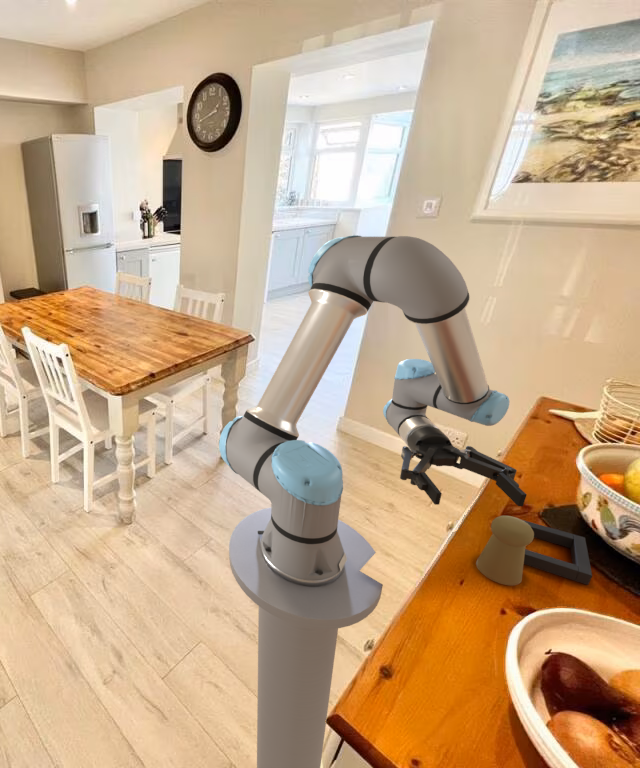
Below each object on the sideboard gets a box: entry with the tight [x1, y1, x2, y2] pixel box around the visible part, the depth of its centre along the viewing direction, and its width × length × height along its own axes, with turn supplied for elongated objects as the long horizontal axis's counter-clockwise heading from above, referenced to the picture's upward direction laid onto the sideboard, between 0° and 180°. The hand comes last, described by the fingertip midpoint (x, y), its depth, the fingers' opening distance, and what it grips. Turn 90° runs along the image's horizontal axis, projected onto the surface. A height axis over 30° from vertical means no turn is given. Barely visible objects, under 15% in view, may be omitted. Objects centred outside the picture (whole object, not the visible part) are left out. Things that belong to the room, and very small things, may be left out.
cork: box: [475, 515, 535, 586], centre depth 68 cm, size 6×6×11 cm
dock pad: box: [522, 519, 593, 586], centre depth 72 cm, size 10×10×2 cm
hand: (479, 499), depth 75 cm, fingers open, 13 cm apart
